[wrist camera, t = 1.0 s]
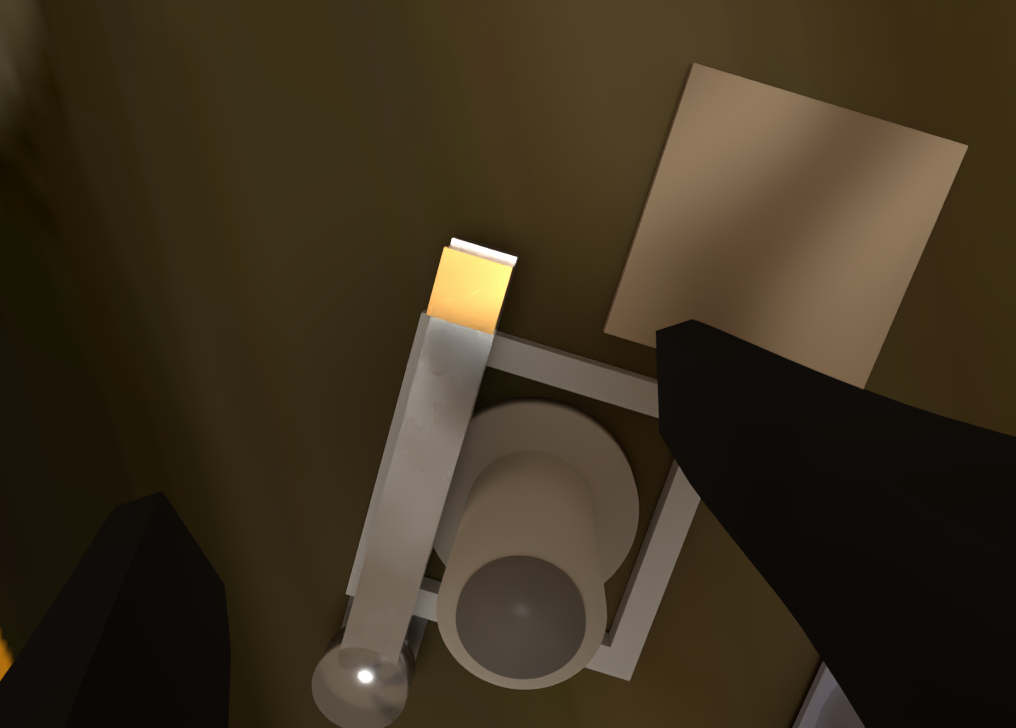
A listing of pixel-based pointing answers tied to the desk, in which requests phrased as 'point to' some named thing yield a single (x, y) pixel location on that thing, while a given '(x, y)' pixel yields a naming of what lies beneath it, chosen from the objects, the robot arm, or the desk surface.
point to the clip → (416, 490)
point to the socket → (666, 521)
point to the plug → (532, 541)
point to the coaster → (782, 224)
